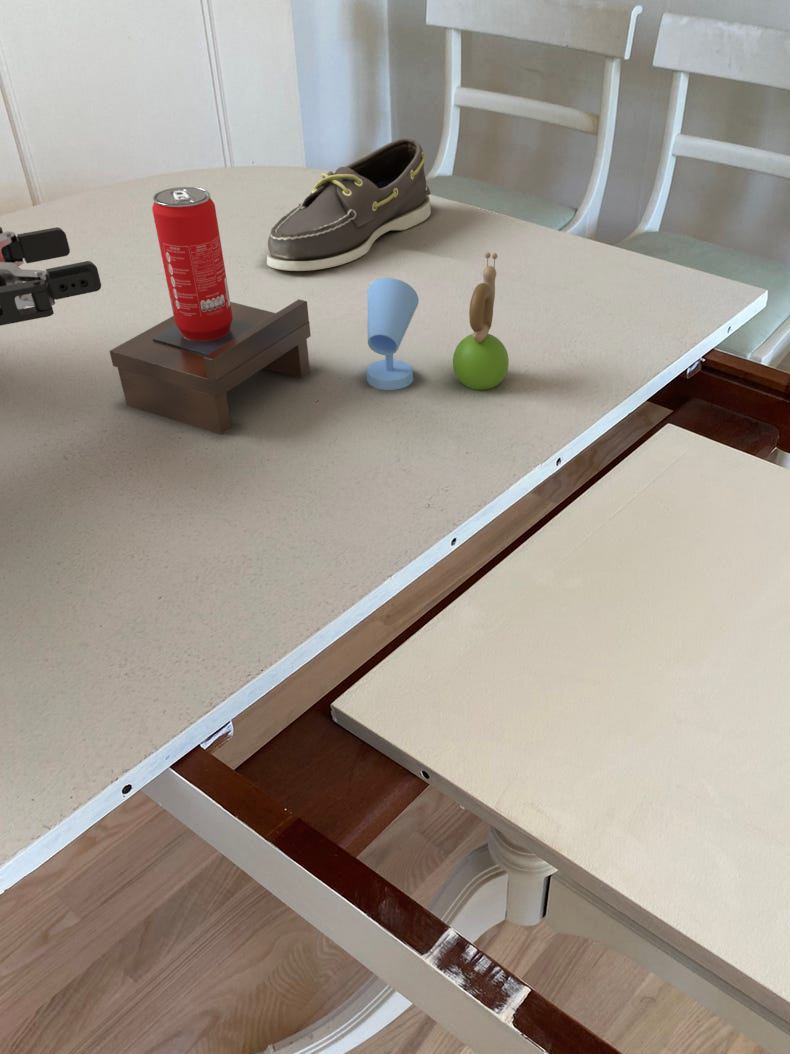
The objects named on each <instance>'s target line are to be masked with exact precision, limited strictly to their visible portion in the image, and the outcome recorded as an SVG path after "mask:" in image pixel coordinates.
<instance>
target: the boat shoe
mask: <svg viewBox="0 0 790 1054" xmlns="http://www.w3.org/2000/svg"><path fill="white" fill-rule="evenodd" d="M425 162H426V156H425V154H424V150H423V148H422V146H421V145H420V143H419V142H418V141H416V140H415V139H414V138H411V137H402V138H399V139H396V140H394V141H391V142H388V143H386V144H385V145H383V146H381V147H379V148H377V149H374V151H372V152H370V153H368V154H365V155H363V156H362V157H360V158H359V159H356V160H355V161H352V162H351V163H349V164H347V165H346V166H340V167H338V168H337V169H336V170H335V172H333V171H331V170H329V171H328V172H327V173H325V172H321V177H322V179H321V180H319V181H317V182H316V184H314V186H313V189H312V190H311V192H310V194H308V196H306V197H305V198H304V199H303V202H302V203H298V206H297V207H295V208H293V209H292V210H291V211H289V212H288V213H286V214H285V215H284V216H282V217H281V218H280V219H279V220H278V221H277V222H276V223H275V224H274V225H273V227H271V229H270V234H269V236H268V239H267V248H268V251H269V252H268V254H267V255H266V265H267V266H268V267H270V268H272V269H276V270H280V271H290V272H291V271H292V272H293V271H294V272H302V271H303V272H304V271H316V270H324V269H329V268H333V267H337V266H341V265H345V264H347V263H348V264H349V263H350V262H352V261H355V260H357V259H359V258H361V257H363V256H365V255H366V254H367V253H368V252H370V249H371V247H372V245H373V244H374V243H375V241H376V240H378V238H380V237H382V235H384V234H386V233H387V232H389V231H406V230H408V229H410V228H413V227H414V226H417V225H419V224H421V223H423V222H424V221H426V220H427V219H429V217H430V216H431V198H430V195H431V190H430V187H429V186H428V185H427V179H426V174H425V169H424V168H425Z"/></svg>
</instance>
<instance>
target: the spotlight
mask: <svg viewBox="0 0 790 1054" xmlns="http://www.w3.org/2000/svg"><path fill="white" fill-rule="evenodd" d="M366 292H367V295H366V296H367V297H366V298H367V299H366V300H367V345H368V347H369V349H370V350H371V351H373V353H376V354H378V355H382V356H384V359H383V360H382V359H381V360H377V361H374V362H373V363H371V364H369V365H368V367H366V380H367V383H368V384H369V385H370V386H371V387H372V388H375V389H379V390H382V391H383V390H384V391H395V390H401V389H404V388H406V387H409V386H410V385H411V384H412V383H413V382H414V376H413V375H414V371H413V366H411V365H410V364H409V363H408V362H406V361H403V360H399V359H394V354H396V353H397V352H398V350H399V348H400V346H401V344H402V341H403V340H404V337H405V335H406V333H407V330H408V328H409V325H410V323H411V321H412V319H413V317H414V314H415V312H416V310H417V308H418V306H419V296H418V293H417V291H416V290H415V289H414V288H413V286H411V285H410V284H409V283H407V282H405V281H403V280H402V279H398V278H394V277H381V278H377V279H376V280H373V281H372V282H371V283H370V284H369V285H368V288H367V291H366Z"/></svg>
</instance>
